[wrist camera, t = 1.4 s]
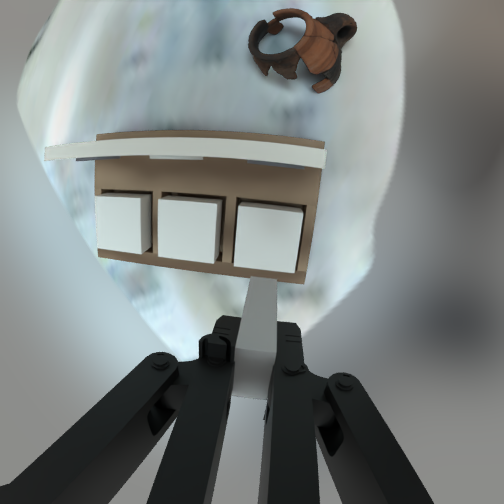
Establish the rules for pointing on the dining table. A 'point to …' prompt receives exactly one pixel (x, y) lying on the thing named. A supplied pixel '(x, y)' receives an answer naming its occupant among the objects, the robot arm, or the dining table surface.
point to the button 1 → (123, 222)
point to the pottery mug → (306, 46)
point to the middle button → (189, 228)
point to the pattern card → (192, 151)
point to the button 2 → (267, 237)
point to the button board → (214, 195)
